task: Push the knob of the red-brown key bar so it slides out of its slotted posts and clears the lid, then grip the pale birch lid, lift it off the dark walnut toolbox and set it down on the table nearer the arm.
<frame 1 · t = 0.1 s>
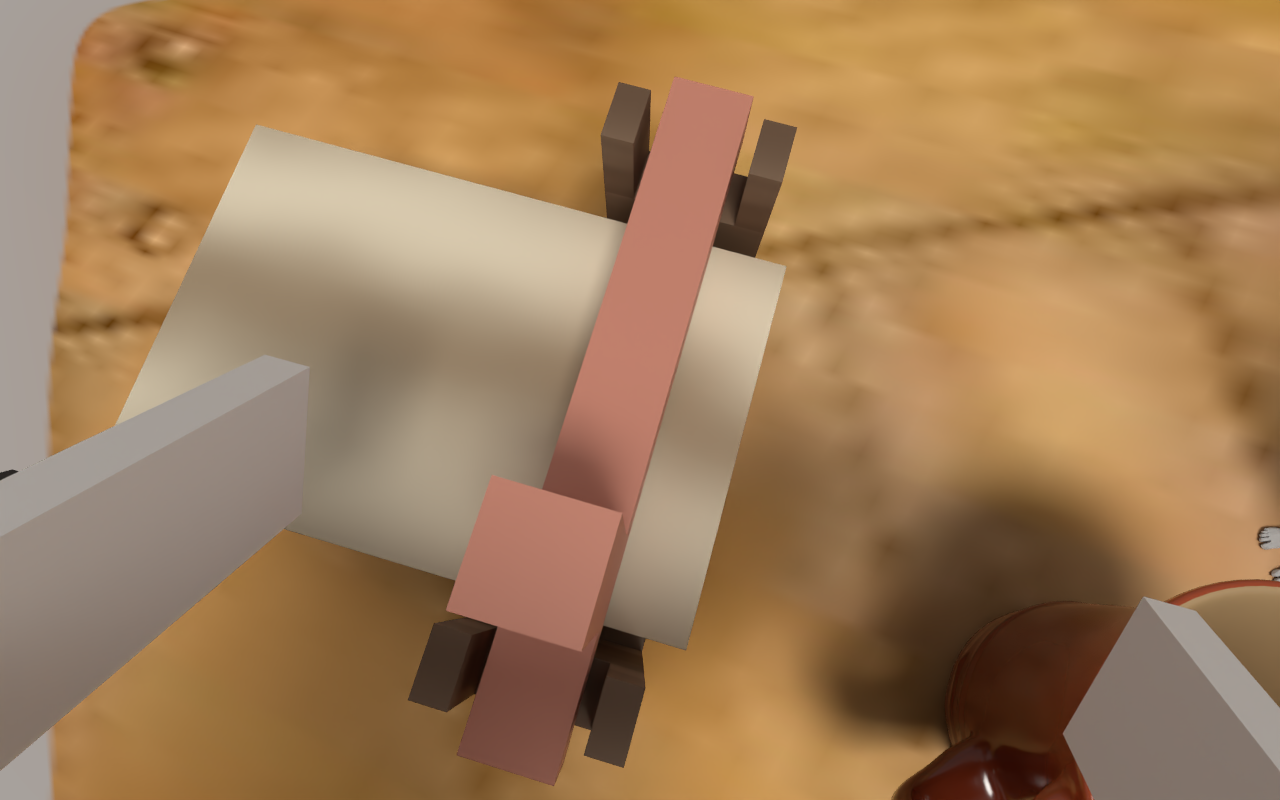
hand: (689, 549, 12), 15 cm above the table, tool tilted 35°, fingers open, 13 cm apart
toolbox: (510, 434, 28), on the table
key: (619, 370, 15), point 13 cm above the table, slide at 0.0 cm
lid: (477, 394, 22), point 6 cm above the table, touching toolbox
mug: (993, 726, 26), on the table
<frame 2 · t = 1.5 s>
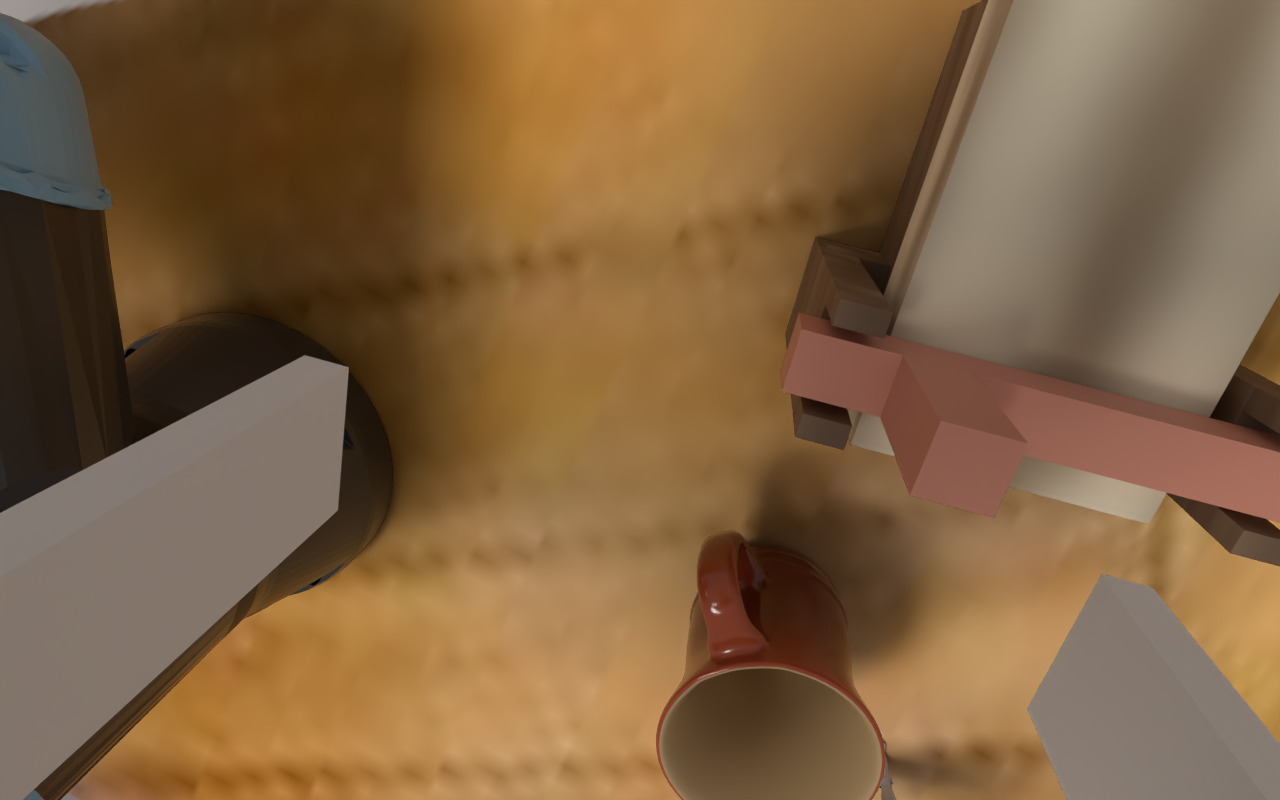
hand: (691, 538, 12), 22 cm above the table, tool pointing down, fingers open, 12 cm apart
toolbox: (1007, 224, 30), on the table
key: (1081, 452, 20), point 13 cm above the table, slide at 0.0 cm
lid: (1061, 249, 25), point 6 cm above the table, touching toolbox
mug: (758, 569, 38), on the table
human figurine: (867, 762, 41), on the table
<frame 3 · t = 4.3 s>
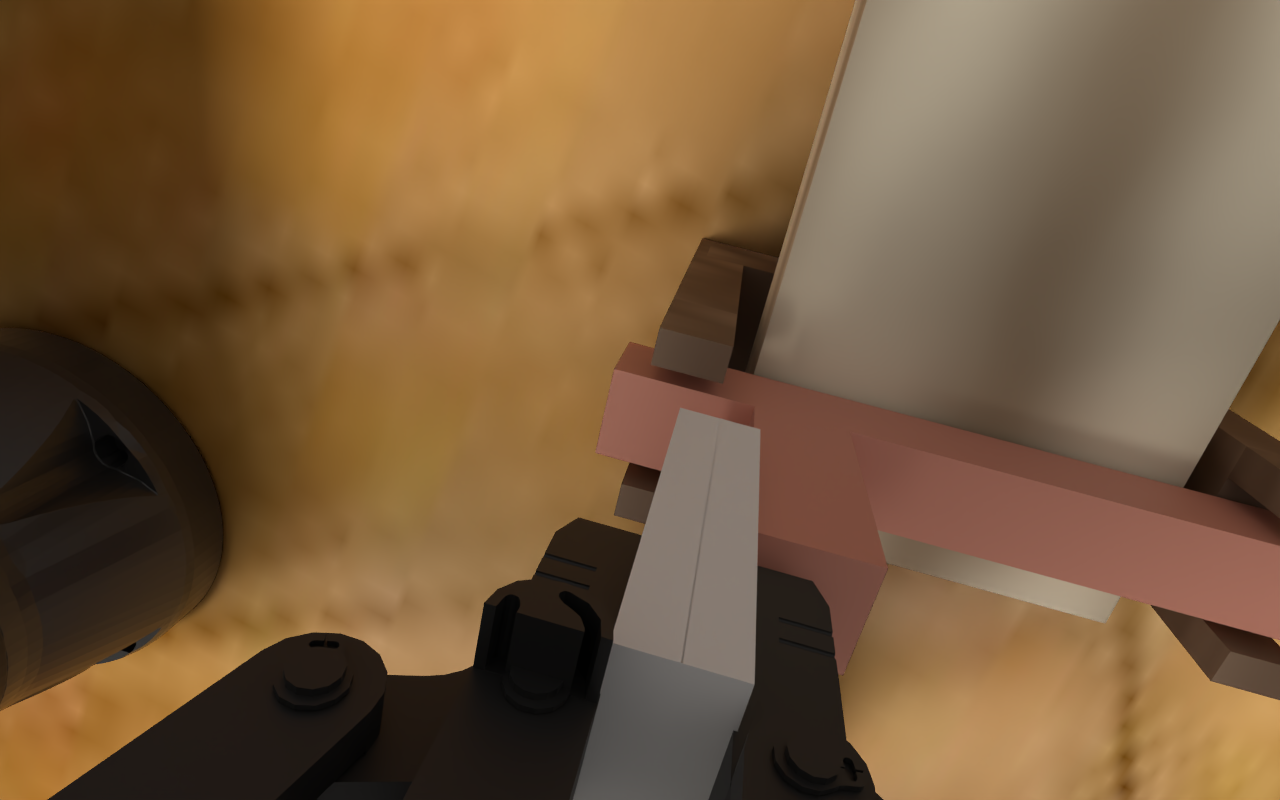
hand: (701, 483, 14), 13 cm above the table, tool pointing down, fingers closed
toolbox: (937, 223, 24), on the table
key: (997, 551, 14), point 13 cm above the table, slide at 0.0 cm, touching gripper
lid: (989, 255, 19), point 6 cm above the table, touching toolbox
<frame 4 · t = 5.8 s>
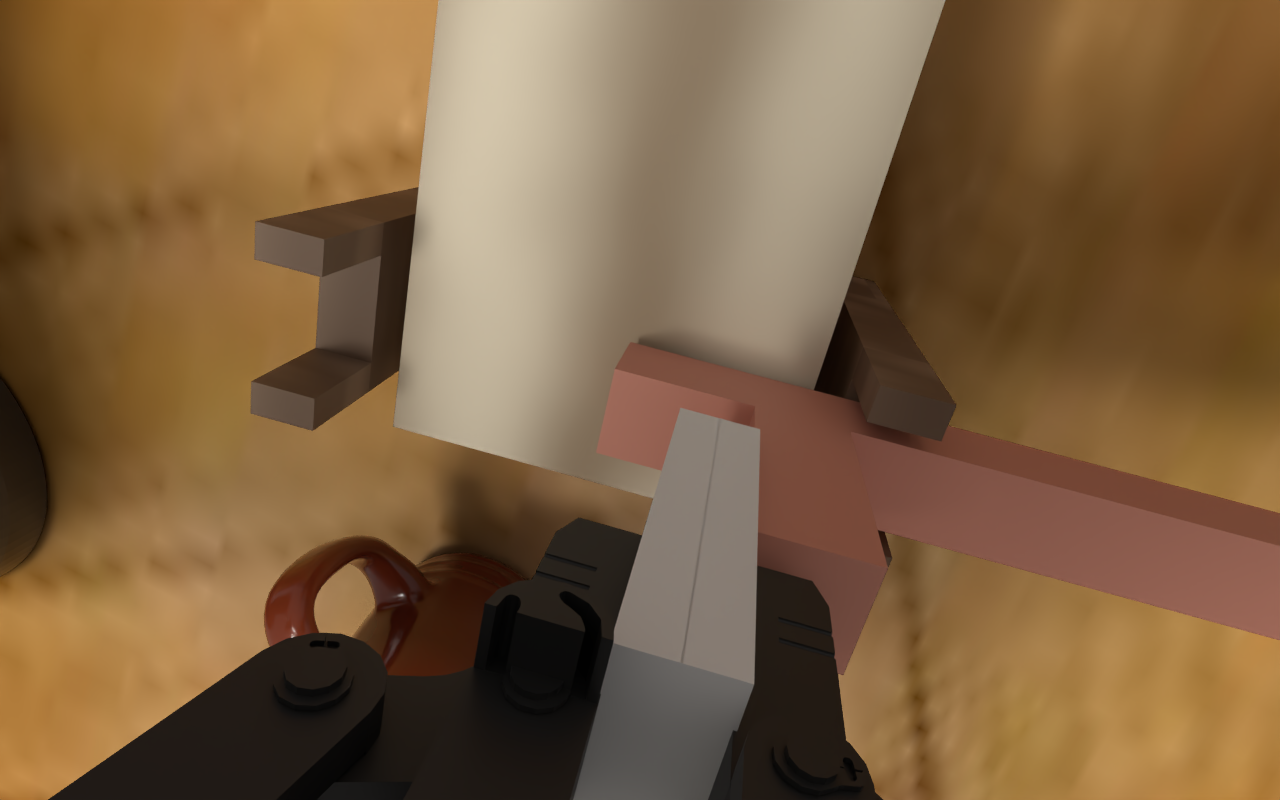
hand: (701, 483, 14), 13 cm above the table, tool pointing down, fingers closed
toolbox: (681, 160, 25), on the table
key: (998, 551, 14), point 13 cm above the table, slide at 8.6 cm, touching gripper
lid: (658, 173, 19), point 6 cm above the table, touching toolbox
mug: (465, 580, 32), on the table
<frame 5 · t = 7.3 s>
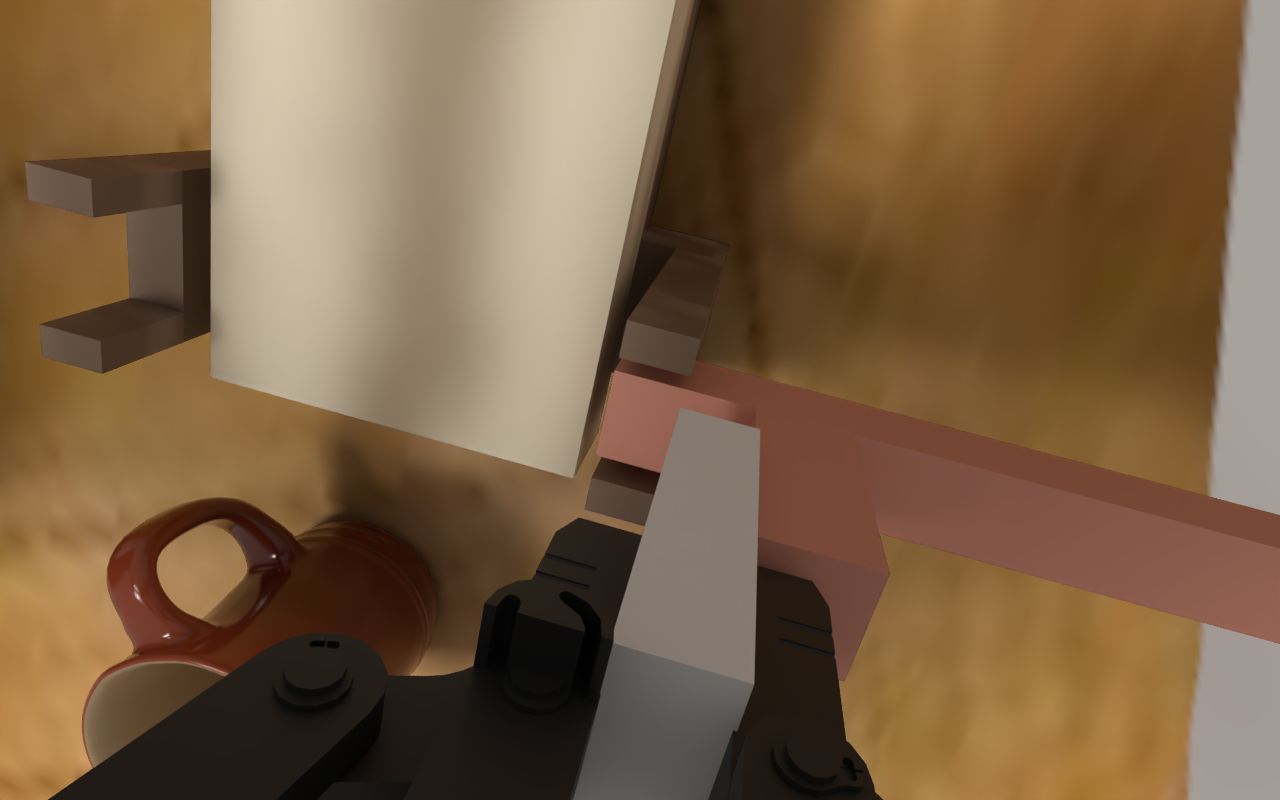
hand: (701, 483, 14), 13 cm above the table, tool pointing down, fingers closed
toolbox: (535, 123, 25), on the table
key: (1001, 555, 14), point 13 cm above the table, slide at 13.7 cm, touching gripper
lid: (469, 125, 19), point 6 cm above the table, touching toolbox
mug: (355, 549, 33), on the table
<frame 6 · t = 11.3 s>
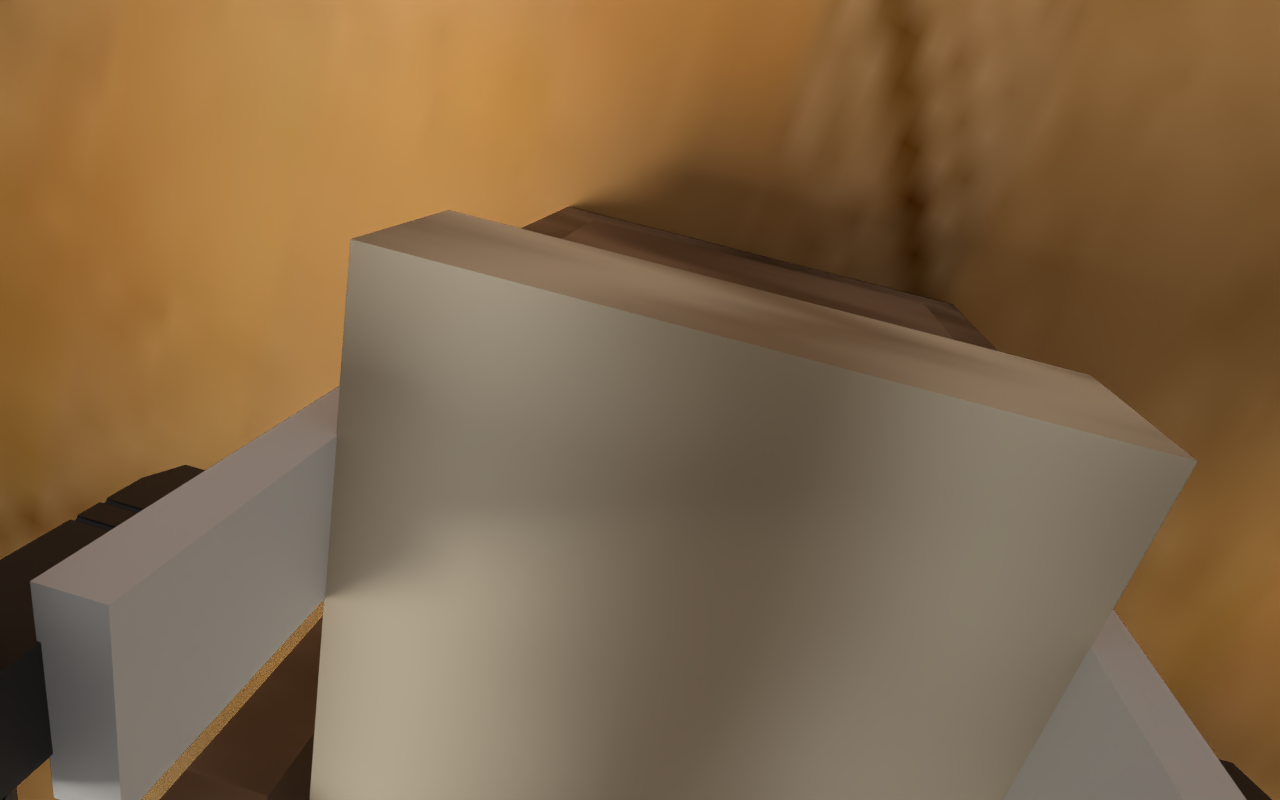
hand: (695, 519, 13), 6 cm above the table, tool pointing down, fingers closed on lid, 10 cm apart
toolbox: (683, 513, 20), on the table
lid: (650, 667, 14), point 6 cm above the table, touching gripper, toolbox
when the fingers open (2 cm above the table, at t = 18.1 s): lid drops 3 cm, on the table.
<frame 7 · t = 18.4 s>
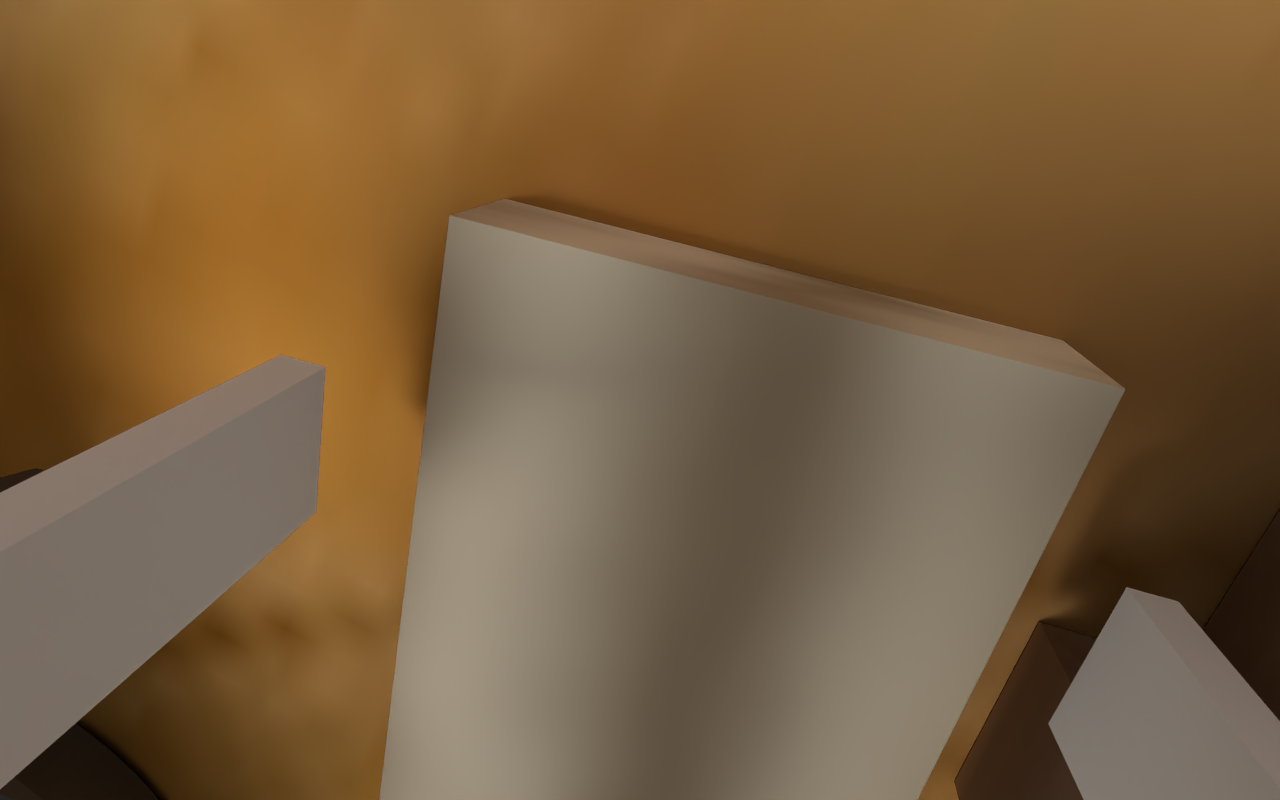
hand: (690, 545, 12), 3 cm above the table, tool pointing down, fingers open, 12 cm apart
lid: (678, 594, 16), on the table
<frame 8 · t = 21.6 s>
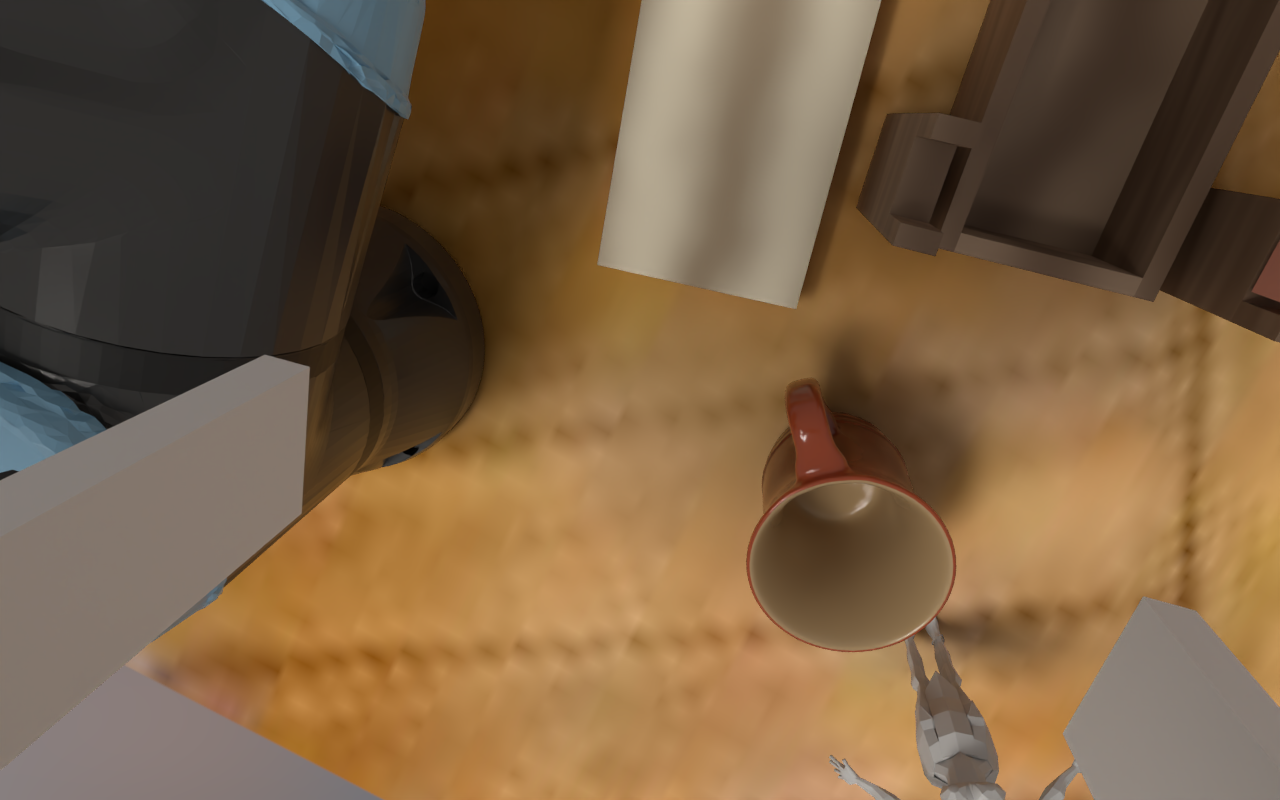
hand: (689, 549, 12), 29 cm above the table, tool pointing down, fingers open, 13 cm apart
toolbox: (1063, 98, 34), on the table
lid: (733, 126, 37), on the table
mug: (823, 439, 41), on the table
human figurine: (919, 627, 45), on the table
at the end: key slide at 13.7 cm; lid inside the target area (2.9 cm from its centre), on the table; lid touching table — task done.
